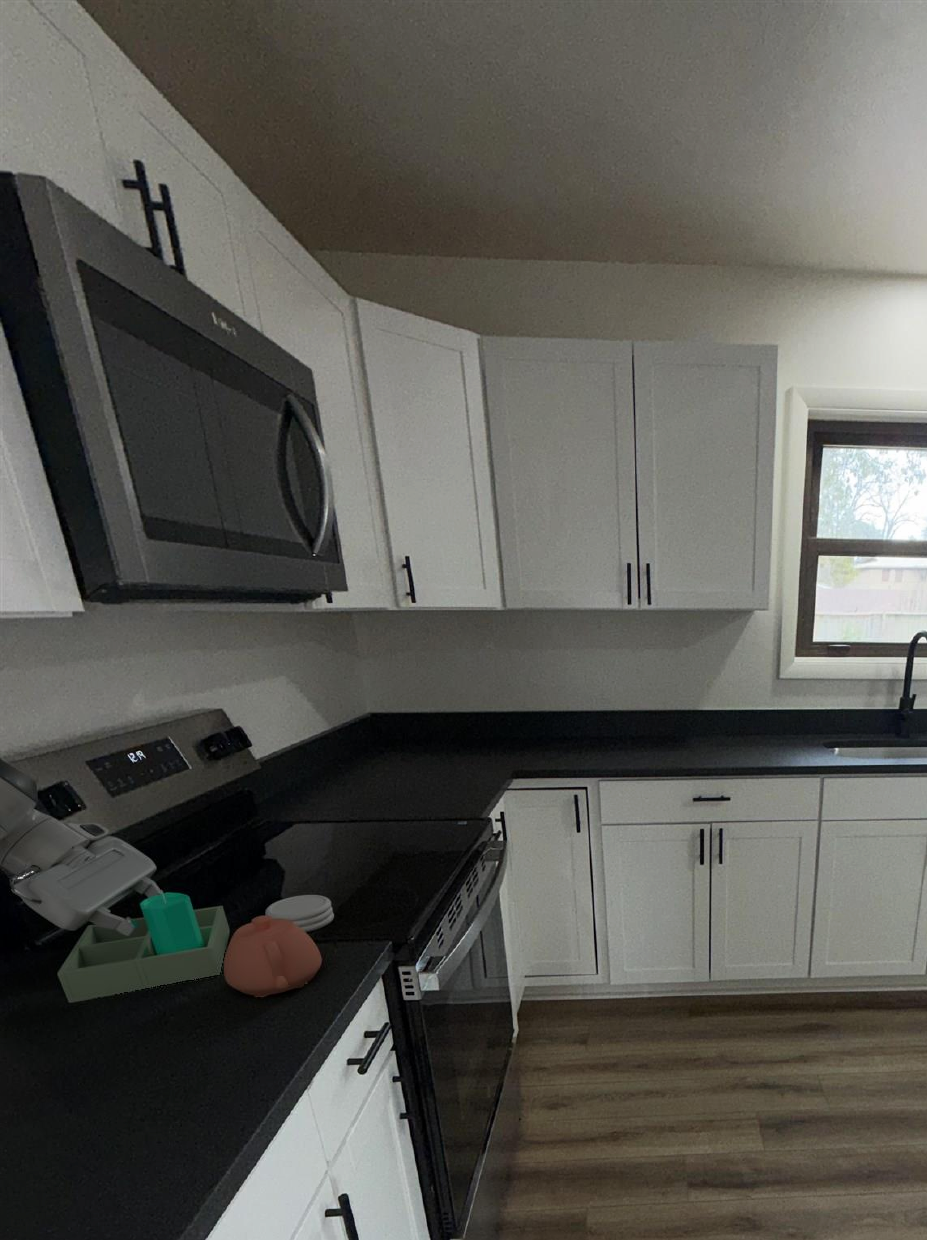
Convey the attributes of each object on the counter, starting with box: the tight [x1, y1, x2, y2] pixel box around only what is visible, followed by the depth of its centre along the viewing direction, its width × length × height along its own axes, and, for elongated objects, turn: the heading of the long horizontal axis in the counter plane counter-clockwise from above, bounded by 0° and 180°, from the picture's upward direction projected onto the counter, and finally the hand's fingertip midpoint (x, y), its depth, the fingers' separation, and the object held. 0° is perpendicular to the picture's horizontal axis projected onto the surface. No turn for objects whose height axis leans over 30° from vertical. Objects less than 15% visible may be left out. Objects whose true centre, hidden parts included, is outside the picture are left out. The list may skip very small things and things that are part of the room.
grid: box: [56, 905, 231, 1004], centre depth 113 cm, size 18×18×5 cm
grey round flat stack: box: [265, 894, 335, 933], centre depth 127 cm, size 10×10×4 cm
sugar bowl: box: [223, 914, 323, 998], centre depth 105 cm, size 12×14×10 cm
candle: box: [139, 889, 205, 955], centre depth 109 cm, size 6×6×12 cm
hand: (151, 917), depth 108 cm, fingers open, 8 cm apart
